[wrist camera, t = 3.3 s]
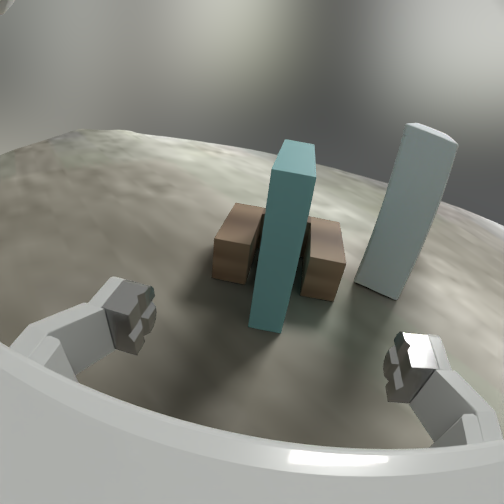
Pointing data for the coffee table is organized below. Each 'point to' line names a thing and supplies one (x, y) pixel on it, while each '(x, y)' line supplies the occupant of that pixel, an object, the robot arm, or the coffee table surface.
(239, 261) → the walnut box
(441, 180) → the skincare box
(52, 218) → the coffee table surface
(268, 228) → the teal rectangular block
